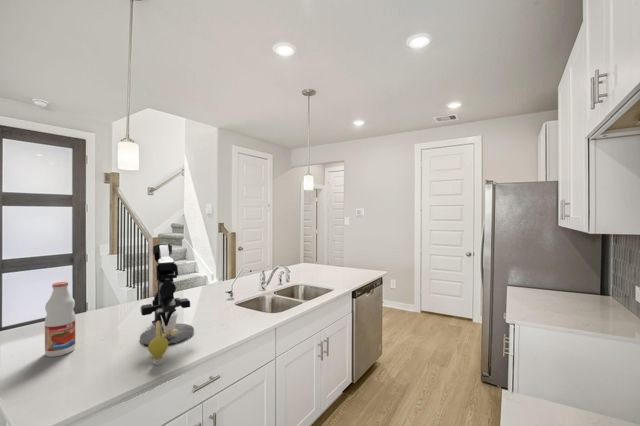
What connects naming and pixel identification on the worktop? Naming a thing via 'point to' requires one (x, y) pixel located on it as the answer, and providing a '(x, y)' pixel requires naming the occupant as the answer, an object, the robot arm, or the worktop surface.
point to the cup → (170, 323)
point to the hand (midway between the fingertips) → (166, 325)
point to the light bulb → (158, 349)
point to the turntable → (176, 336)
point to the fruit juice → (59, 321)
